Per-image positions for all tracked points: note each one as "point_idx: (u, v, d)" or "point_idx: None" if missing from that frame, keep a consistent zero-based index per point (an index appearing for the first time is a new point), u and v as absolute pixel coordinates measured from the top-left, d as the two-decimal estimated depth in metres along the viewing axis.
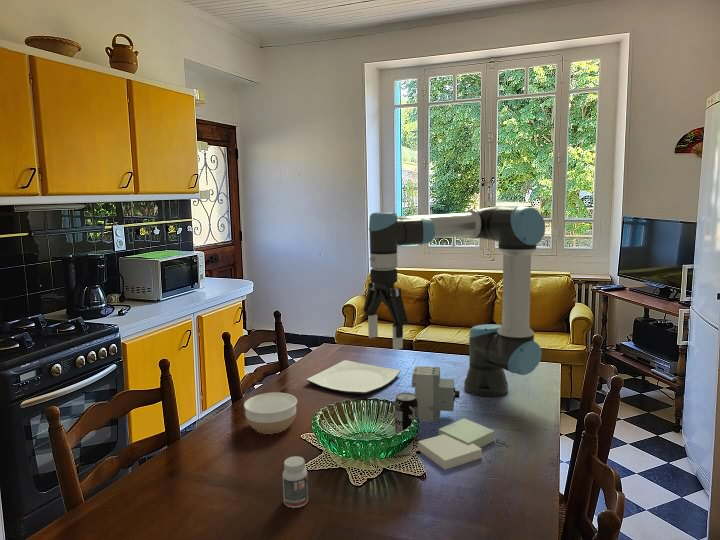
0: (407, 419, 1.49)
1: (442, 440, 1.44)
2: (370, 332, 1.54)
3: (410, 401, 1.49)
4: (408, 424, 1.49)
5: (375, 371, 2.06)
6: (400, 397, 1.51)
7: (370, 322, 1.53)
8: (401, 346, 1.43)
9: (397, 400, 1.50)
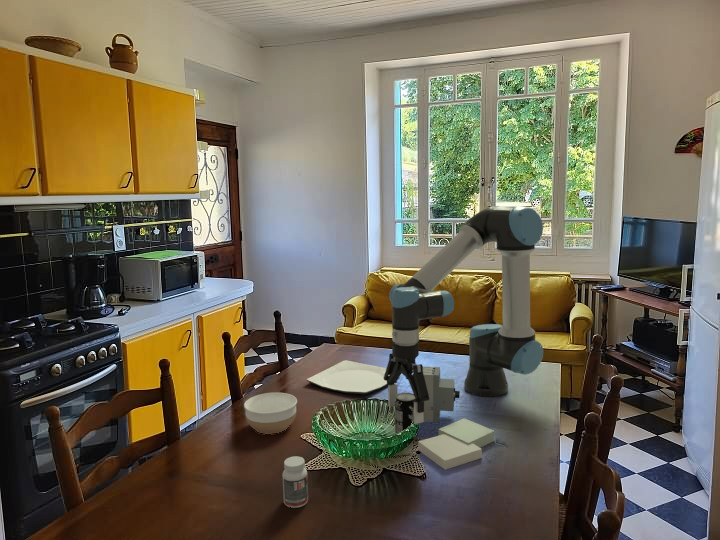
0: (407, 419, 1.49)
1: (442, 440, 1.44)
2: (390, 401, 1.57)
3: (410, 401, 1.49)
4: (408, 424, 1.49)
5: (375, 371, 2.06)
6: (400, 397, 1.51)
7: (390, 391, 1.56)
8: (422, 420, 1.46)
9: (397, 400, 1.50)
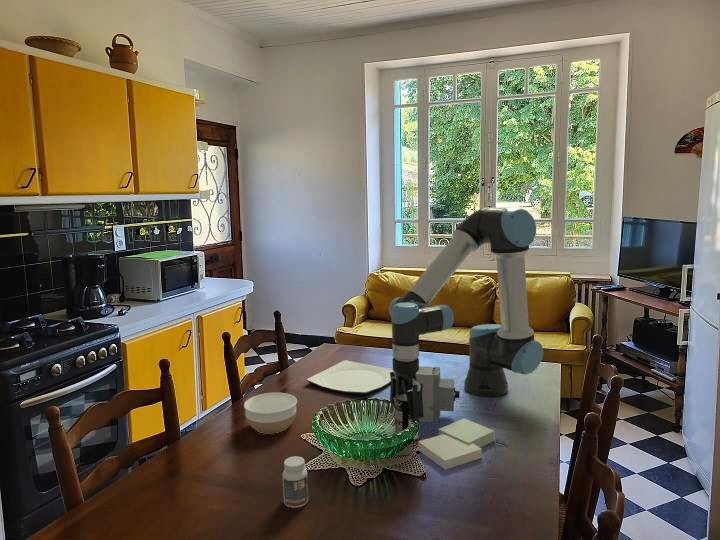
0: (407, 419, 1.49)
1: (442, 440, 1.44)
2: None
3: None
4: (408, 424, 1.49)
5: (375, 371, 2.06)
6: (400, 397, 1.51)
7: None
8: (416, 436, 1.50)
9: (397, 400, 1.50)
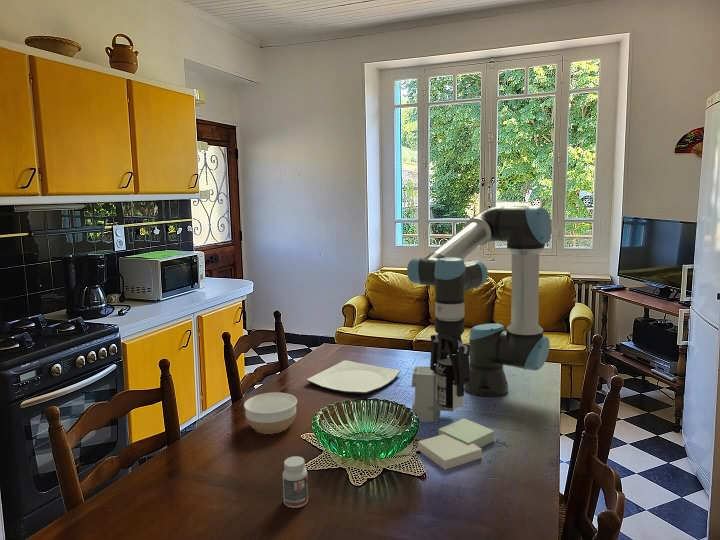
0: (451, 385, 1.36)
1: (442, 440, 1.44)
2: None
3: None
4: (452, 391, 1.36)
5: (375, 371, 2.06)
6: (443, 361, 1.38)
7: None
8: (461, 404, 1.37)
9: (440, 365, 1.37)
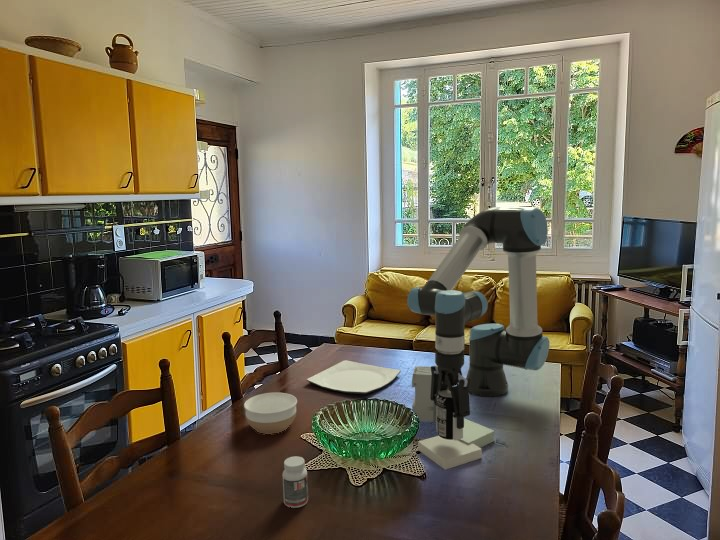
0: (451, 417, 1.37)
1: (442, 440, 1.44)
2: None
3: None
4: (452, 423, 1.37)
5: (375, 371, 2.07)
6: (443, 393, 1.39)
7: None
8: (461, 436, 1.38)
9: (440, 396, 1.38)
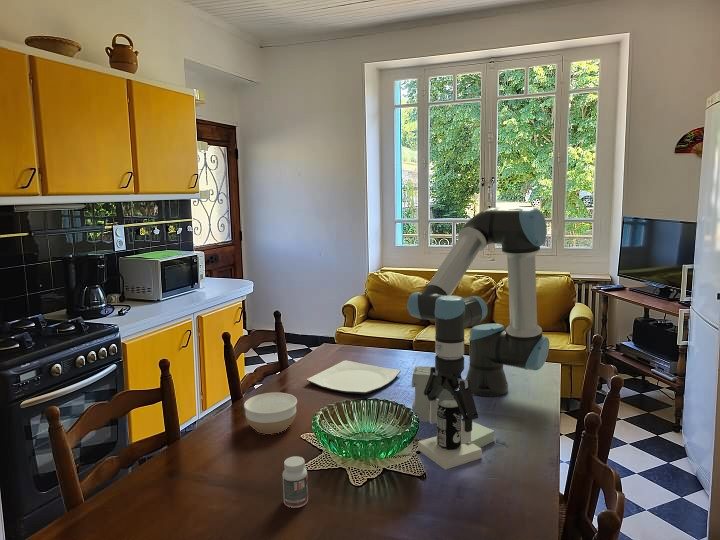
0: (451, 427, 1.37)
1: None
2: (431, 418, 1.46)
3: (454, 408, 1.37)
4: (452, 433, 1.38)
5: (375, 371, 2.07)
6: (443, 403, 1.40)
7: (432, 407, 1.45)
8: (469, 439, 1.35)
9: (440, 407, 1.39)
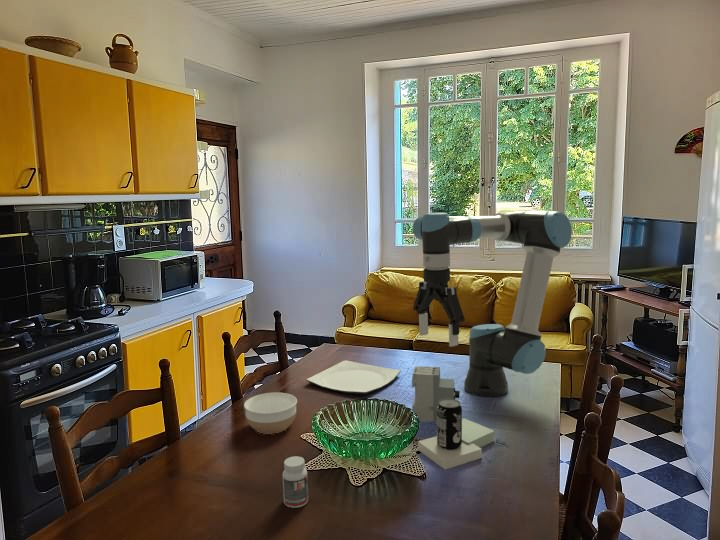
0: (451, 427, 1.37)
1: None
2: (421, 330, 1.57)
3: (455, 408, 1.37)
4: (452, 433, 1.38)
5: (375, 371, 2.07)
6: (443, 403, 1.40)
7: (421, 320, 1.57)
8: (457, 343, 1.47)
9: (440, 407, 1.39)
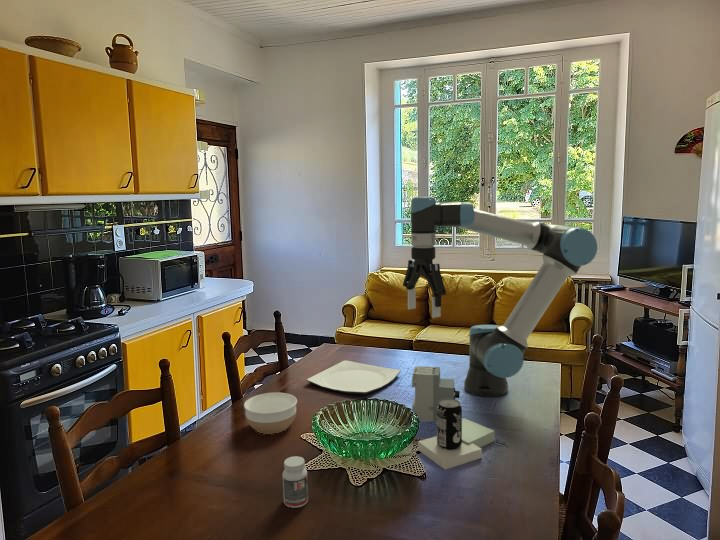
0: (451, 427, 1.37)
1: None
2: (409, 304, 1.73)
3: (454, 408, 1.37)
4: (452, 433, 1.38)
5: (375, 371, 2.07)
6: (443, 403, 1.40)
7: (409, 295, 1.73)
8: (439, 315, 1.62)
9: (440, 407, 1.39)
